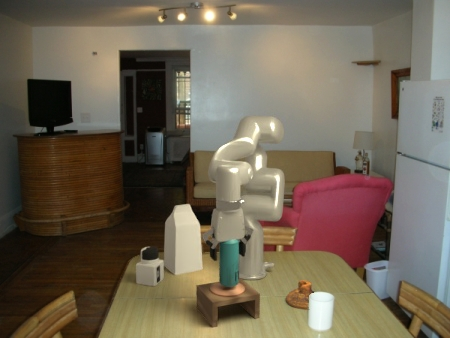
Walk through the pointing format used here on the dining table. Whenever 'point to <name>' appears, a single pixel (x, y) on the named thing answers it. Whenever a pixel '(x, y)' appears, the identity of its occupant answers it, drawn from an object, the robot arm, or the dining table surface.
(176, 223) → the milk
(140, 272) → the container
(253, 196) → the robot arm
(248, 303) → the wooden u-channel bracket
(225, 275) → the beverage bottle
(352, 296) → the dining table surface
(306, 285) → the candle holder
